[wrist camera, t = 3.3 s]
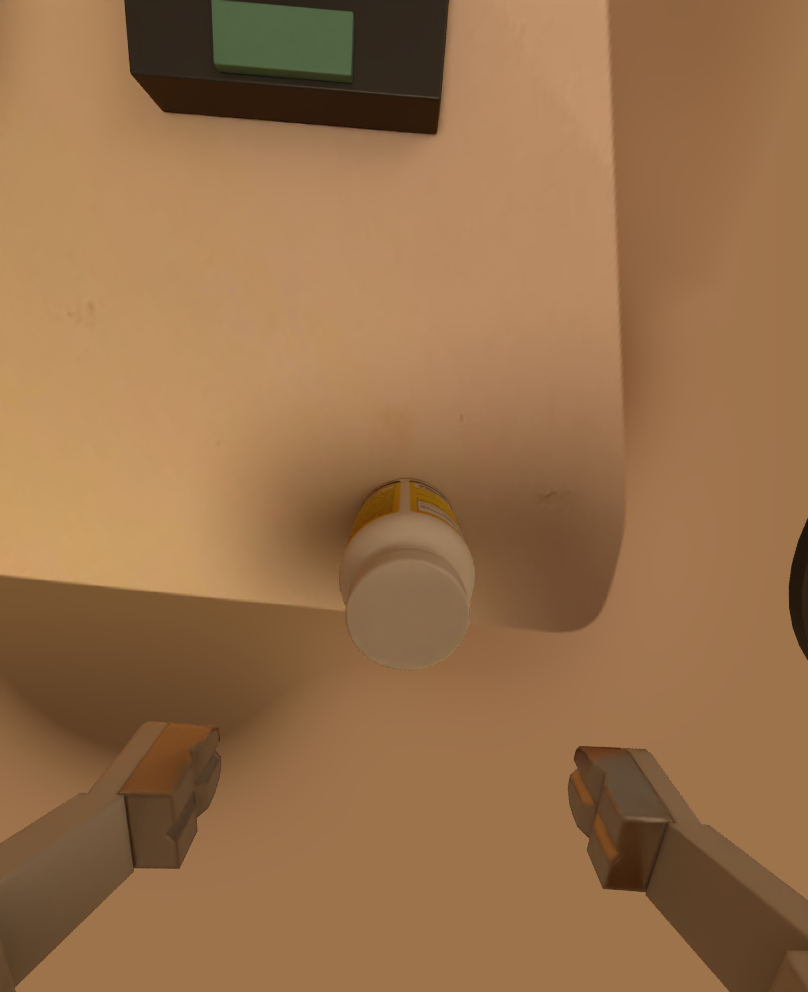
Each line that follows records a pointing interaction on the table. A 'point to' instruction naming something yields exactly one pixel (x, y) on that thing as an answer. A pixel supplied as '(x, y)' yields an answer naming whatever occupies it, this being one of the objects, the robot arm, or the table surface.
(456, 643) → the pill bottle
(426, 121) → the scale
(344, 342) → the table surface
